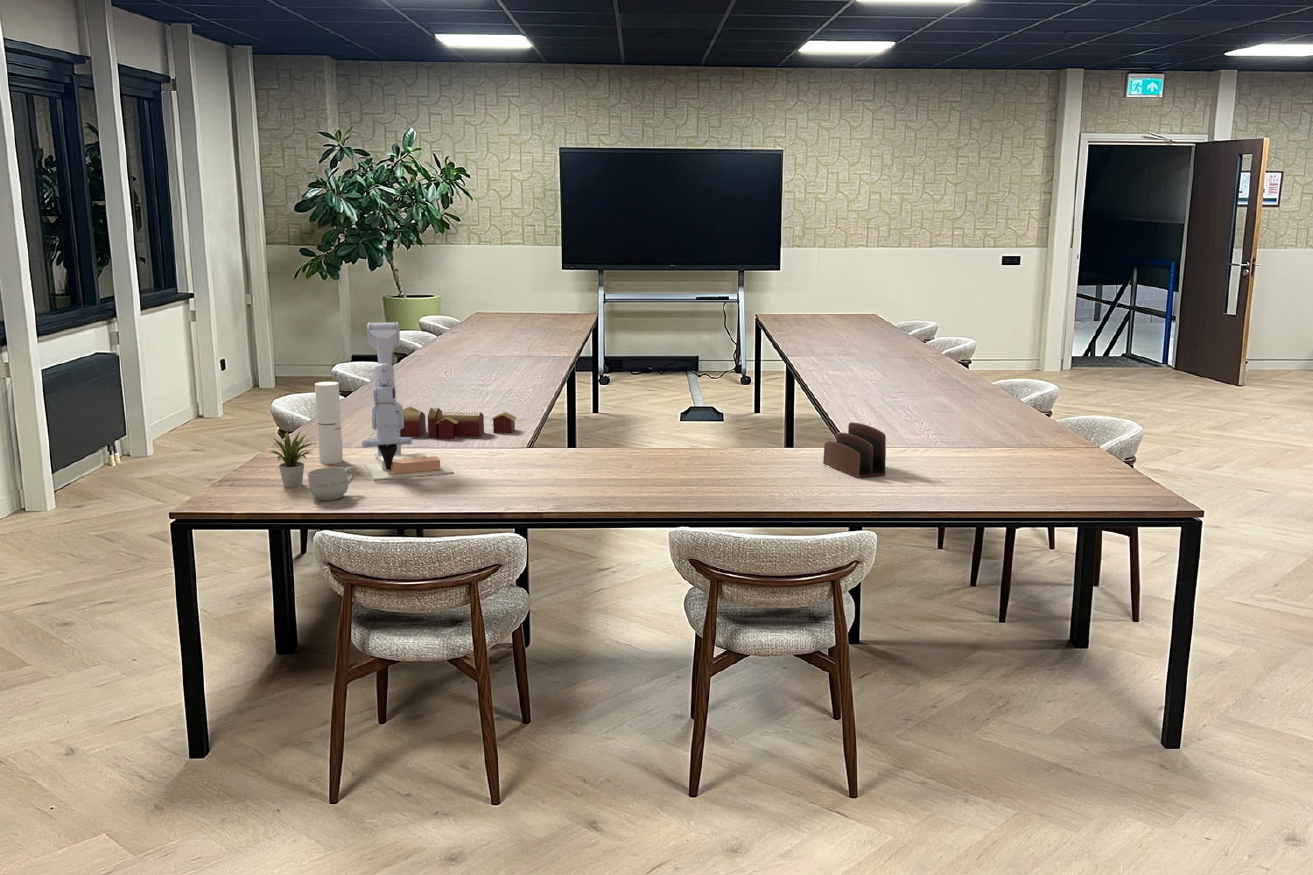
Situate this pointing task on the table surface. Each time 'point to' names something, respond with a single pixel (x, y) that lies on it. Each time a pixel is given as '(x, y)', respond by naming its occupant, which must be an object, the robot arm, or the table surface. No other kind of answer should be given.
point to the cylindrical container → (329, 422)
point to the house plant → (292, 460)
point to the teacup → (329, 482)
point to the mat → (388, 474)
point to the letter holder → (857, 452)
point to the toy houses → (452, 424)
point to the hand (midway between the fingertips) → (388, 469)
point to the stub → (415, 464)
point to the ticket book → (382, 463)
